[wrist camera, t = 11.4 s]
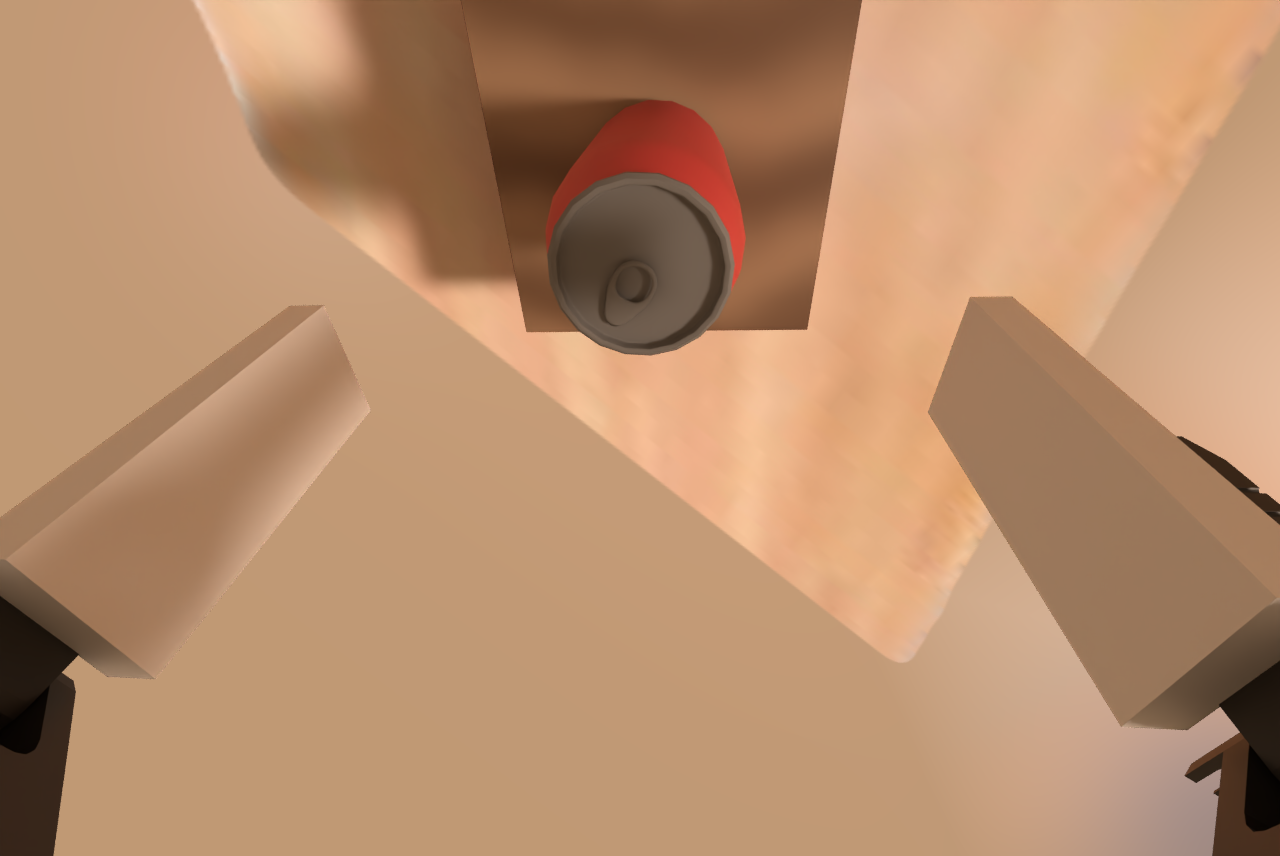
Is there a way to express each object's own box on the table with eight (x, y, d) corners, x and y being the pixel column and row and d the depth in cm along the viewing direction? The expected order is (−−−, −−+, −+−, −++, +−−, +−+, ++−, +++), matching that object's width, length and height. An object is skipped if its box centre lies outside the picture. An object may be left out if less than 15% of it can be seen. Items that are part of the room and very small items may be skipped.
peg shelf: (505, -21, 27) (454, -33, 21) (828, -42, 25) (871, -61, 19) (552, 281, 36) (526, 332, 30) (786, 277, 35) (807, 329, 29)
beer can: (566, 206, 26) (498, 312, 16) (628, 64, 22) (585, 97, 13) (680, 270, 28) (678, 400, 18) (755, 148, 24) (801, 233, 14)
